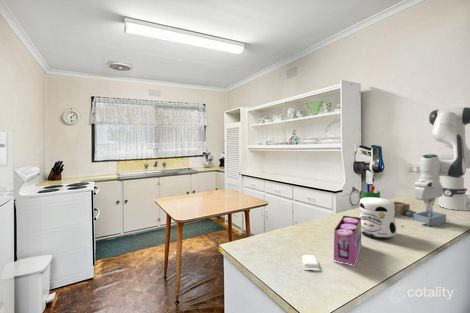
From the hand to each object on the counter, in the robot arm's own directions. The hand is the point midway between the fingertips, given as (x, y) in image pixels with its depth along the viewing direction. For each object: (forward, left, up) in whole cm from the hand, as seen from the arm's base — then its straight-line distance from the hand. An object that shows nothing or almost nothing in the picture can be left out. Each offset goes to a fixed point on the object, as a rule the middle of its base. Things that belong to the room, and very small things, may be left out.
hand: (429, 205), depth 136 cm
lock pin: (0, 0, -8) cm, 8 cm away
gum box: (+72, +7, -10) cm, 73 cm away
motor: (+16, -24, -10) cm, 31 cm away
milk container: (+42, -1, -10) cm, 43 cm away
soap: (+94, +8, -11) cm, 95 cm away
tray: (0, 0, -10) cm, 10 cm away
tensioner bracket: (+1, -14, -10) cm, 18 cm away
